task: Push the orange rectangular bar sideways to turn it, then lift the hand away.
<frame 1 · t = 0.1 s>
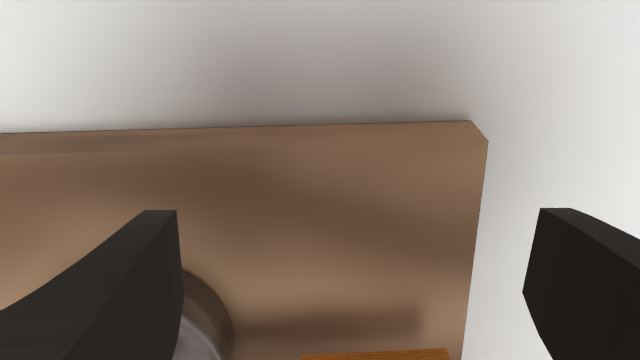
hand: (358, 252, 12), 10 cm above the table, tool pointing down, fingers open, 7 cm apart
bench block: (228, 336, 25), on the table
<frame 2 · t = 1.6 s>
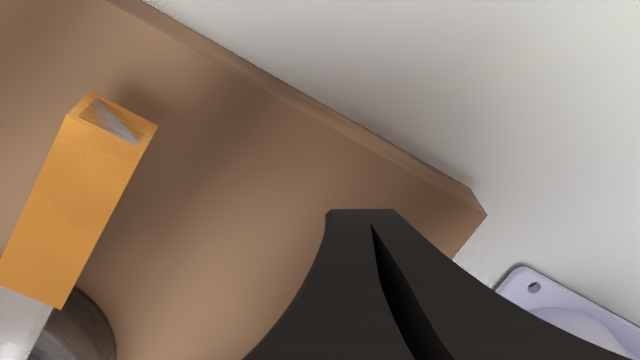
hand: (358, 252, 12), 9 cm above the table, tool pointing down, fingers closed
orange rectangular bar: (2, 348, 16), point 6 cm above the table, hinge at 0.0°
bench block: (117, 272, 22), on the table
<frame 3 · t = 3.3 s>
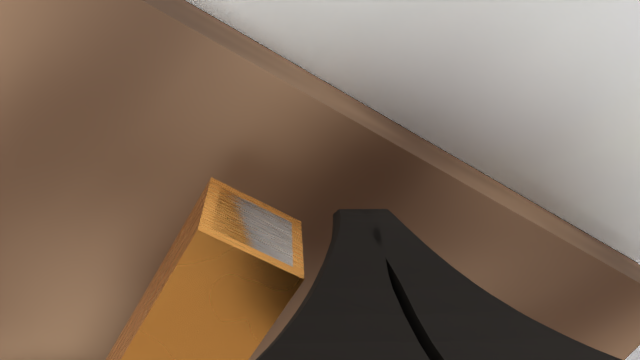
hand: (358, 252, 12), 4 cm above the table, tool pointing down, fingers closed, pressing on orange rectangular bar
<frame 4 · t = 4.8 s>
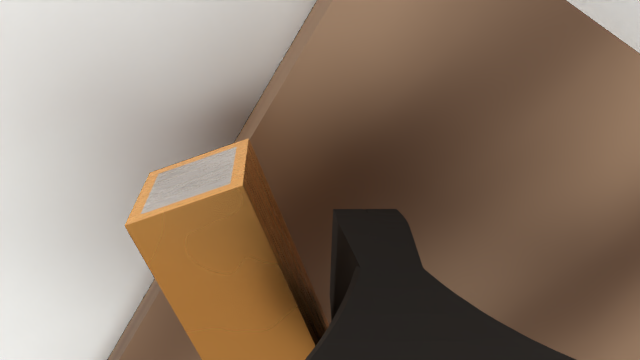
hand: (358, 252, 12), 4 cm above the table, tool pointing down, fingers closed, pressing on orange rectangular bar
bench block: (465, 356, 18), on the table
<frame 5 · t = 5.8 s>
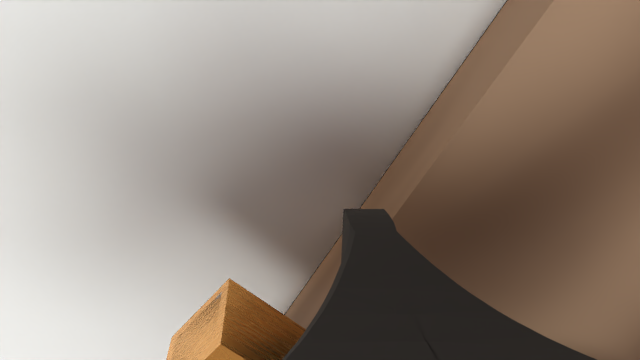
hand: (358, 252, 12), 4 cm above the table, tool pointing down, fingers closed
bench block: (600, 354, 18), on the table
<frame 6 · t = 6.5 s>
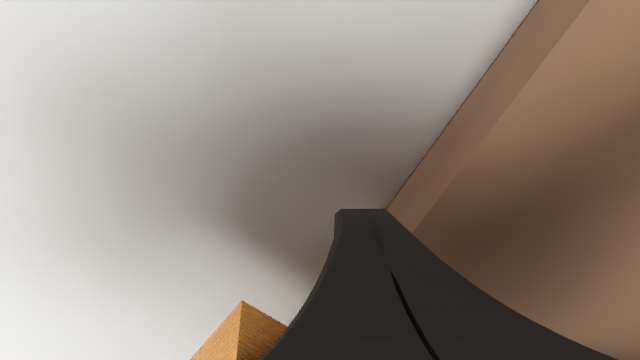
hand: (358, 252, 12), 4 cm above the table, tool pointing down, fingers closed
bench block: (622, 354, 18), on the table
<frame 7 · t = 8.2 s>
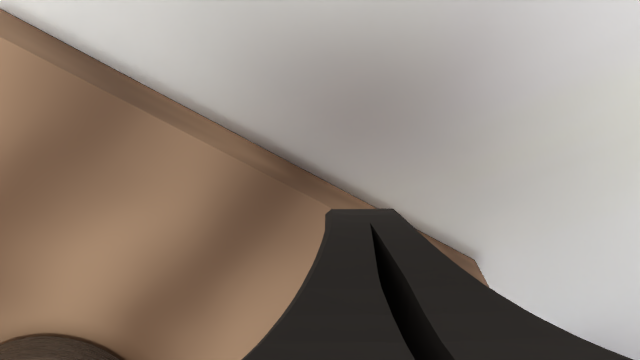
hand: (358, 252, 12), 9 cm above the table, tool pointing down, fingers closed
bench block: (152, 335, 24), on the table
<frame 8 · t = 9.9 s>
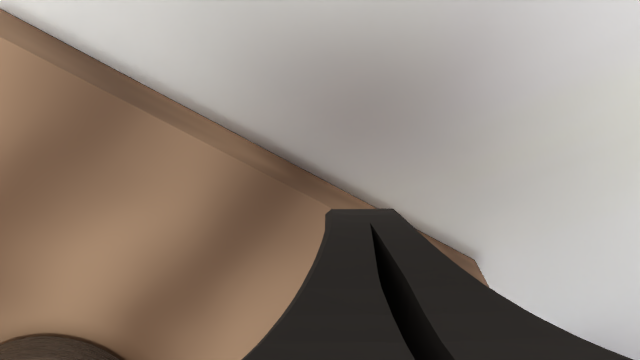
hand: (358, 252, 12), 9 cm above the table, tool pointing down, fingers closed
bench block: (152, 335, 24), on the table
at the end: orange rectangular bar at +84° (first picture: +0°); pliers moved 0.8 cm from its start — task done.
